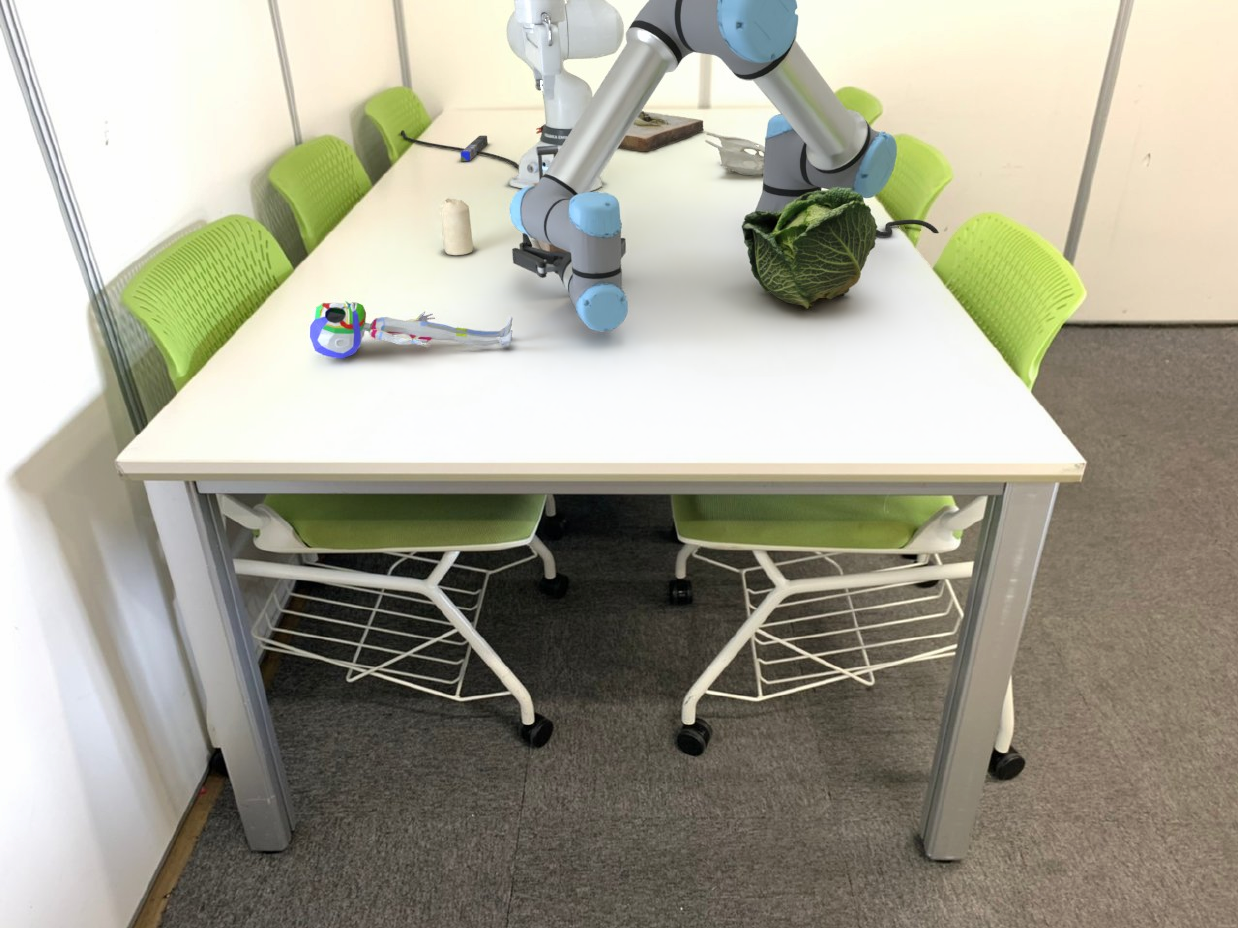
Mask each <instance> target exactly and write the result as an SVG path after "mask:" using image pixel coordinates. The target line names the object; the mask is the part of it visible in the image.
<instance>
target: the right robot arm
mask: <svg viewBox="0 0 1238 928" xmlns="http://www.w3.org/2000/svg"><path fill="white" fill-rule="evenodd" d="M797 9H798V2H797V0H648V1H647V2H646V3H645V4H644V6H643V7H642V8H641V9H640V10H639V12H638V14H637V15H636V17H634V20H633V21H632V22H631V24H630V25H629V27H628V28H627V30H626V32H625V40H626V43H625V45H624V47H623V49H622V50H621V52H620V53H619V55H618V57H617V58H616V59H615V61H614V63H613V64H612V66H611V67H610V68H609V70H608V72H607V74H606V76H605V77H604V79H603V80H602V81H601V83H600V85H599V86H598V88H597V89H596V91H595V93H594V94H593V95H592V99H591V101H590V102H589V104H588V105H587V107H586V109H585V110H584V112H583V113H582V115H581V116H580V118H579V120H578V121H577V123H576V124H575V126H574V127H573V129H572V131H571V132H570V134H569V135H568V137H567V138H566V140H565V142H564V143H563V145H562V146H561V148H560V149H559V151H558V153H557V154H556V156H555V157H554V159H553V161H552V162H551V164H550V165H549V167H548V168H547V170H546V172H545V173H544V175H543V177H542V178H541V179H540V181H539V182H538V184H537V186H536V187H534V186H532V187H530V186H529V187H525V188H523V189H522V188H520V190H518V191H516V193H515V194H514V195H513V197H512V199H511V201H510V204H509V217H510V221H511V223H512V225H513V226H514V227H515V228H516V230H517V231H519V232H521V233H522V242H520V243H519V248H518V247H513V248H512V249H511V252H512V263H513V265H517V266H518V267H520V268H523V269H525V270H527V271H529V272H532V273H534V274H535V275H537V276H538V277H539V278H540V279H544V278H547V275H548V273H555V275H558V276H559V279H560V282H561V283H562V286H563V287H564V289H565V291H566V292H567V294H568V296H569V299H570V300H571V302H572V304H573V306H574V308H575V312H576V314H577V316H578V317H579V319H580V320H581V321H582V322H583V324H584V325H585V326H586V327H588V328H589V329H590V330H593V331H595V332H600V333H601V332H602V333H604V332H611V331H612V330H615V329H616V328H618V327H619V326H620V325H622V323H623V322H624V321H625V319H626V317H627V315H628V311H629V303H628V300H627V295H626V293H625V292H624V290H623V273H622V271H623V269H622V259H623V257H624V256H625V254H626V252H627V250H626V249H627V246H626V245H627V244H626V239H627V238H625V237H622V228H623V227H622V225H623V223H622V220H621V209H620V208H621V207H620V202H619V199H618V198H617V197H616V196H615V195H613V194H611V193H608V192H599V191H591V189H592V187H593V186H594V184H595V183H596V181H597V180H598V178H599V176H600V177H601V175H602V174H603V172H604V170H605V169H606V167H607V166H608V164H609V163H610V161H611V159H613V156H614V155H615V154H616V152H617V150H618V148H619V145H620V144H621V142H622V140H623V139H624V137H625V136H626V134H627V133H628V131H629V130H630V128H631V126H632V125H633V123H634V122H635V120H636V119H637V117H638V115H639V114H640V112H641V111H643V109H644V107H645V106H646V104H647V103H648V101H649V100H650V99H651V97H652V95H653V94H654V92H655V90H656V89H657V88H658V86H659V85H660V83H661V81H662V79H663V78H664V77H665V75H666V74H667V73H672V72H674V71H676V69H677V68H678V67H679V65H680V64H681V62H682V61H683V59H684V58H686V57H687V56H688V55H690V54H692V53H697V54H703V55H709V56H710V55H711V56H715V57H717V58H719V59H720V60H721V61H722V62H723V63H724V65H726V67H727V68H728V69H729V70H730V71H731V72H732V73H733V75H734V76H735V77H736V78H738V79H739V80H742V81H747V82H751V81H753V83H754V84H755V85H756V86H757V87H758V89H759V90H760V91H761V92H762V93H763V95H764V96H765V97H766V98H767V99H768V100H769V102H770V103H771V104H772V105H773V106H774V107H775V109H776V110H777V111H778V112H779V113H778V114H775V115H773V116H772V117H770V118H769V120H768V122H767V125H766V126H767V127H766V132H765V133H766V135H765V137H764V141H765V142H764V147H765V155H764V154H763V156H764V173H763V174H762V175H763V177H762V192H761V195H760V197H759V200H758V202H757V205H756V207H755V209H754V212H755V211H758V210H762V211H774V212H777V211H779V210H781V209H784V208H785V207H786V205H787V204H789V203H791V202H792V201H793V200H795V199H796V198H798V197H800V196H802V195H804V194H806V193H809V192H814V191H822V189H825V190H829V189H831V188H832V187H834V188H836V187H840V188H852V190H853V191H854V192H856V193H859V194H861V195H862V197H863V199H871V198H873V197H876V195H878V194H880V193H881V191H882V190H884V189H885V187H886V185H887V183H888V182H889V180H890V179H891V176H892V174H893V171H894V168H895V166H896V160H897V155H898V147H897V141H896V139H895V137H894V136H893V135H892V134H890V133H887V132H886V131H884V130H883V131H877V130H875V129H873V128H872V127H871V125H870V124H869V122H868V121H867V120H866V119H865V117H864V116H863V115H862V114H861V113H860V112H859V111H856V110H853V109H847V108H846V107H845V106H844V104H843V103H842V102H841V100H840V99H839V97H838V96H837V95H836V94H835V92H834V91H833V89H832V88H831V87H830V84H828V83H827V81H826V80H825V78H824V77H823V76H822V75H821V73H820V72H819V70H818V69H817V67H816V66H815V65H814V63H813V62H812V61H811V59H810V58H809V57H808V55H807V54H806V52H805V51H804V50H803V48H802V47H801V46H800V44H799V43H798V42H797V36H798V25H799V14H797V13H796V10H797ZM904 225H916V226H922V227H924V228H926V229H928V230H929V231H931V233H932V234H940V232H939V230H938V229H937V228H936V227H935V226H934V225H933V224H931V223H929V222H927V221H925V220H921V219H902V220H894V221H893V220H892V221H889V222H886V223H885V230H886V231H881V230H879V229H878V228H877V229H876V234H875V236H878V237H890V236H891V235H893V229H892V227H896V226H904ZM530 238H531V239H534V240H537V241H538V240H540V241H543V242H546V243H548V244H551V245H553V246H556V247H558V248H560V249H563V250H565V251H568V252H561V251H557V250H556V251H554V252H550V251H546V250H542V249H541V248H537V247H533V243H532V241H531V239H530ZM559 257H560V258H559Z"/></svg>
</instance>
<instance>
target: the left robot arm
mask: <svg viewBox="0 0 1238 928" xmlns="http://www.w3.org/2000/svg"><path fill="white" fill-rule="evenodd" d="M565 1H566V2H565ZM513 3H514V4H513V6H514V7H513V8H514V10H513V12H512V13H511V15H510V16H509V19H508V21H507V24H506V31H505V32H506V40H507V42H508V43H507V44H508V46H509V48H510V50H511V52H513V54H514V55H515V56H516V57H517V58H519V59H520V60H521V61H523V62H524V63H525V64H526V65H527V66H528V67H529V68H530V70H531V71H532V74H533V77H534V88H535V89H536V90H537V91H541V93H542V94H541V95H542V99H543V107H544V118H545V119H544V120H545V121H544V122H545V123H544V124H543V125H541V126H540V127H537V128H535V130H536V132H535V133H536V134H540V138H539V141H538V142H536V143H535V144H534V145H533V146H532V147H530V149H529V150H527V151H526V152H525V153H524V154H523V155H522V156H521V157H520V158H519V159H520V160H519V164H518V163H517V162H515V161H513V160H511V159H509V158H506V157H504V156H502V155H497V154H494V153H490V152H486V151H482V150H481V151H477V154H476V155H481V156H486V157H489V158H490V157H491V158H494V159H499V160H501V161H504V162H507V163H509V164H512V165H513V166H514V167H515V168H516V169H517V170H518V174H516V175H514V176H513V177H512V178H511V179H510V180H509V186H511V187H514V188H517V189H518V188H519V189H523V188H525V187H529V186H530V187H532V186H534V183H538V182H539V168H538V155H537V152H536V147H540V146H554V145H557V146H558V151H559V149H560V148H561V146H562V145H563V143H564V142H565V140H566V138H567V137H568V135H569V134H570V132H571V131H572V129H573V127H574V126H575V124H576V123H577V121H578V120H579V118H580V116H581V115H582V113H583V112H584V110H585V109H586V107H587V105H588V104H589V102H590V101H591V99H592V97H593V90H592V88H591V86H590V85H589V83H588V82H587V81H586V80H584V79H583V78H581V77H579V76H577V75H575V74H573V73H571V72H569V71H568V70H566V69H565V65H564V62H565V61H567V60H578V59H579V60H584V59H585V60H586V59H598V58H602V57H606V56H607V57H608V56H610V55H614V54H617V52H618V51H619V49H620V48H621V46H622V44H623V40H624V37H625V25H624V22H623V21H624V20H623V18H622V16H621V14H620V12H619V11H618V10H617V8H615V6H614V5H612V4H611V3H609V2H608V1H607V0H513ZM400 135H401V136H402V137H403V138H404V139H405V140H406V141H409V142H412V143H417V144H421V145H424V146H430V147H435V148H439V149H446V150H454V151H460V152H462V151H463V150H464V149H465V148H463V147H458V146H451V145H444V144H439V143H433V142H427V141H423V140H418V139H414V138H411V137H408V136H407V134H406V133H405V130H403V129H402V130H401V131H400ZM553 159H554V157H553V154H551V155H542V167H543V175H544V173H545V172H546V170H547V168H548V167H549V165H550V164H551V162H552V161H553ZM600 177H601V175H600V176H599V178H598V180H597V181H596V183H595V184H594V186H593V187H592V189H591V191H590V192H594V191H595V190H598V189H600V188H601V187H602V186H603V183H602V180H601V178H600Z"/></svg>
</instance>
